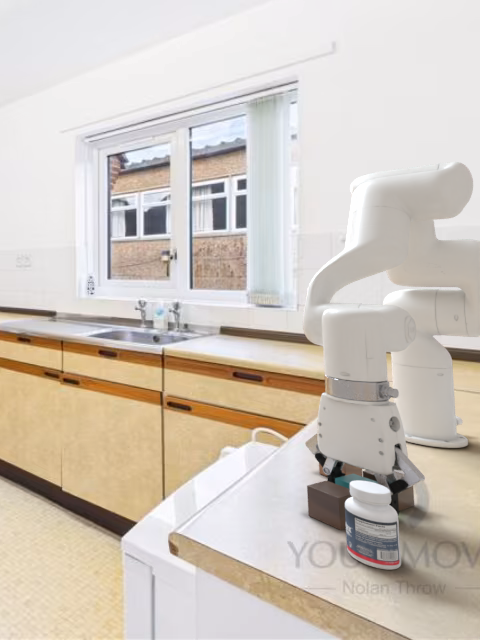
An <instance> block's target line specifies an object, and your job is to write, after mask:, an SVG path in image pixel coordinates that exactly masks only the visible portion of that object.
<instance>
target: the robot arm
mask: <svg viewBox="0 0 480 640" xmlns="http://www.w3.org/2000/svg"><path fill="white" fill-rule="evenodd" d="M349 191H350V196H351V202H350V208H349V215H348V222H347V229H346V237H345V244H344V249H343V250H342V251H341V252H339V253H338V254H336V255H335V256H333V257H332V258H331V259H330V260H329V261H327V262H326V263H325V264H324V265H323V266H322V267H321V268H320V269H319V270H318V271H317V272H316V273H315V274H314V276H313V277H312V279H311V280H310V282H309V284H308V286H307V290H306V295H305V300H304V306H303V313H302V329H303V334H304V335H305V337H306V339H307V341H309V342H310V343H312V344H314V345H317V346H320V347H322V351H323V352H322V353H323V370H324V371H323V373H324V390H325V391H324V392H322V393H321V396H320V400H319V406H318V412H317V425H316V426H317V427H316V428H317V429H316V430H317V431H316V432H317V433H316V434H314V435H313V436H312V437H310V438H309V439H308V440H306V441H305V446H306V447H307V449H308V450H309V451H310V453H311V454H312V455H314V458H315V460H316V461H317V462H318V464H319V463H320V465H321V466H322V467H323V472H324V473H325V474H327V476H326V478H327V479H326V481H329V482H332V483H335V478H338V477H342V476H346V475H345V473H342V469H343V466H344V464H345V463H346V464H349V465H352V466H356V467H359V468H362V470H364V471H365V470H368V471H371V472H373V473H374V475H375V478H376V480H377V482H378V484H380V485H382V486H385V487H386V488H388V489H389V490H390V493H391V503H390V504H389V505H390V506H392V507H393V508H394V509H395V510H396V512H397V514H398V517H399V516H400V511H399V502H398V493H401V492H402V491H404V490H406V489H408V488H410V487H411V486H413V487H414V486H416V485H417V484H419V483H421V482H423V481H425V480H426V477H425V475H424V474H423V473H422V472H421V471H420V470H419V468H418V467H417V466H416V465H415V464H414V463H413V462H412V461H411V460H410V458H409V454H408V446H407V443H413V444H416V445H422V446H427V447H434V448H445V449H458V448H465V447H467V446H468V445H469V439H468V438H467V437H466V436H464V435H463V434H461V433H458V430H457V426H458V427H459V426H461V425H462V424H463V422H464V421H463V419H462V418H461V417H460V416H457V414H456V400H455V399H456V398H455V384H454V383H455V382H454V367H453V359H452V356H451V354H450V352H449V351H448V350H447V348H446V347H445V346H444V345H443V344H441V342H439V341H438V340H437V339H436V338H435V337H434V336H449V337H464V338H465V337H466V338H480V240H478V239H470V238H469V239H468V238H462V239H459V238H457V239H439V238H437V235H436V229H435V228H436V227H435V221H436V220H445V219H446V220H449V219H453V218H456V217H457V216H459V215H460V214H461V213H462V212H463V210H464V208H466V206H467V204H468V203H469V201H470V200H471V198H472V195H473V191H474V179H473V175H472V173H471V170H470V169H469V168H468V166H466V164H464V163H462V162H459V161H450V162H442V163H441V162H440V163H434V164H425V165H420V166H413V167H404V168H403V167H402V168H397V169H395V168H394V169H389V170H382V171H375V172H371V173H367V174H363V175H361V176H358V177H356V178H355V179H354V180H353V181H352V182H351V184H350V187H349ZM384 272H386V276H387V278H388V280H389V281H390V282H391V283H392V284H394V285H396V286H401V287H411V288H409V289H408V288H407V289H405V288H404V289H399V290H395V291H392V292H390V293H388V294H387V295H386V296H385V297H384V298H383V301H382V303H380V304H379V303H378V304H377V303H358V302H357V303H353V302H331V300H332V298H333V297H334V296H335V295H336V294H337V293H338V292H339V291H340V290H341V289H343V288H344V287H347V286H348V285H350V284H353V283H355V282H357V281H360V280H363V279H366V278H369V277H372V276H375V275H377V274H380V273H384ZM414 287H415V288H414ZM439 288H458V289H439ZM387 353H390V359H391V360H390V362H391V377H392V378H391V380H392V387H391V386H390V381H389V380H388V379H389V378H388V377H389V376H388V361H387V358H388V357H387ZM391 398H393V401H390V400H391ZM395 471H402V472H403V474H405V476H404V477H402V478H401V479H399V480H398V478H397V476H396V473H395Z"/></svg>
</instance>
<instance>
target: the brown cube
mask: <svg viewBox="0 0 480 640" xmlns="http://www.w3.org/2000/svg"><path fill="white" fill-rule="evenodd" d="M306 490H307V491H306V492H307V494H306V495H307V511H308V512H307V513H308V517H310V518H313V519H315V520H317V521H320V522H322V523H324V524H326V525H328V526H331V527H333V528H335V529H338V530H339V531H342V530H346V519H345V501H346V500H347V499H348V498H350V497H352V496H351V495H350V489H348V488H345V487H343V486H340V485H337V484H335V483H332V482H329V481H327V480H322V481H319V482H315V483H312V484H308V485H306Z"/></svg>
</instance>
